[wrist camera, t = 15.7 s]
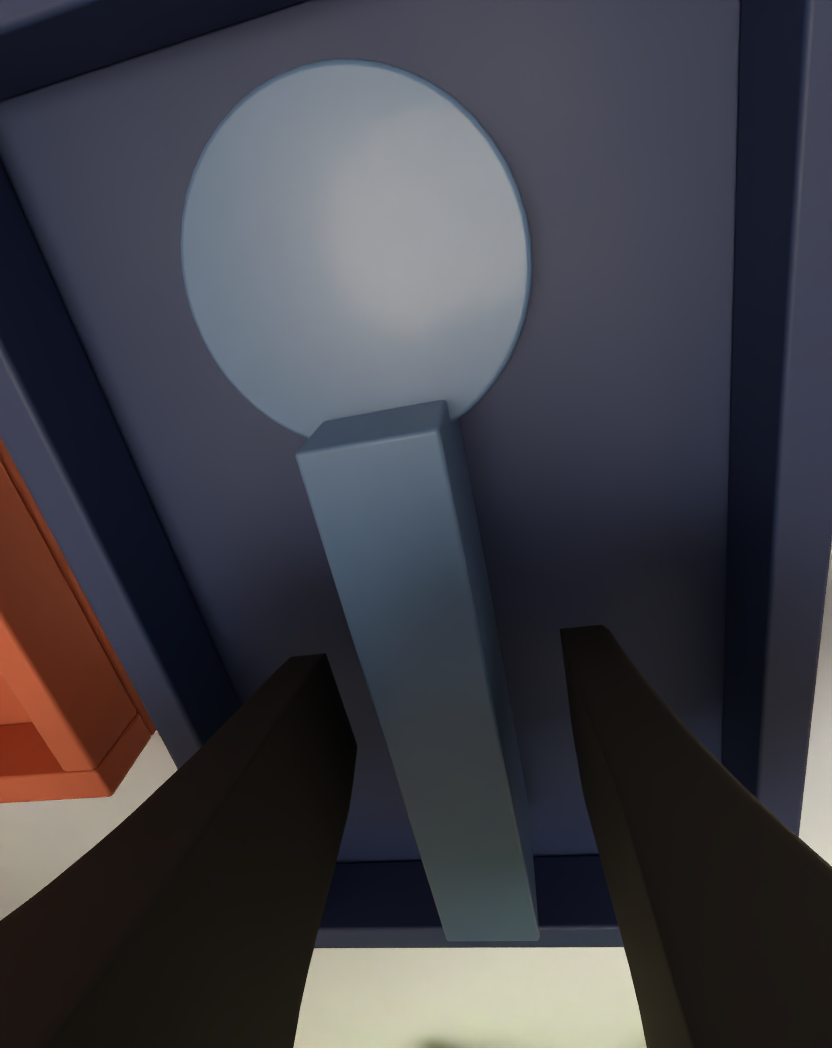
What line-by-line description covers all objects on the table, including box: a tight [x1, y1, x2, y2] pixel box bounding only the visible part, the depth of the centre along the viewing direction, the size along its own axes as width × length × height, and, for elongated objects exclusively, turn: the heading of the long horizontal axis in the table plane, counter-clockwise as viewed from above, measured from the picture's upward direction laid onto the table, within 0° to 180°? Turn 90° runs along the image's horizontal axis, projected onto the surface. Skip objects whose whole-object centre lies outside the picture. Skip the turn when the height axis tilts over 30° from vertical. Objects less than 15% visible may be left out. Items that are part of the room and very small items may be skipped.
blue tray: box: [0, 0, 832, 948], centre depth 9 cm, size 16×10×2 cm, turn 12°
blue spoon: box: [180, 59, 540, 941], centre depth 8 cm, size 12×4×3 cm, turn 12°
